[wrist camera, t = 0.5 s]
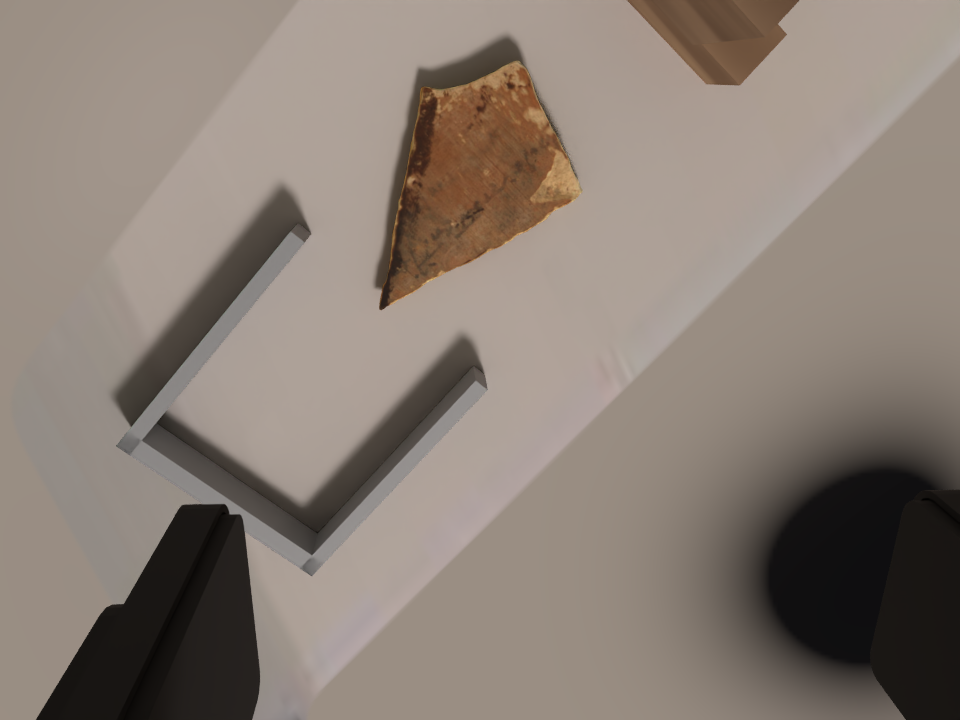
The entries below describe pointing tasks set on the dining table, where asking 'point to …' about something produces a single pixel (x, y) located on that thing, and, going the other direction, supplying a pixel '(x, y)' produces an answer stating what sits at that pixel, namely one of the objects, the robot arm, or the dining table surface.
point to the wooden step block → (718, 33)
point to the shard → (474, 177)
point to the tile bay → (256, 510)
